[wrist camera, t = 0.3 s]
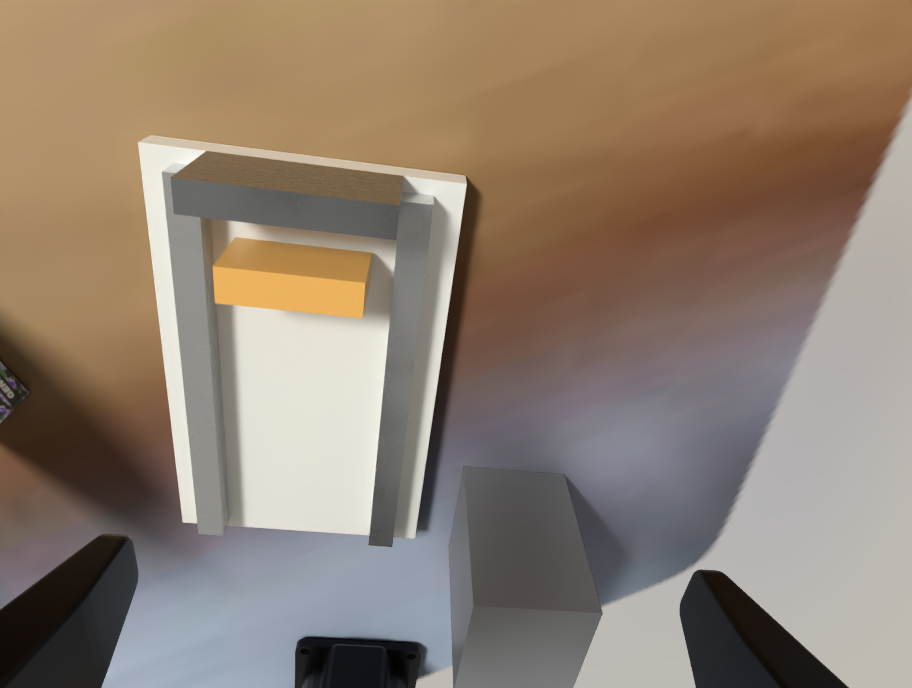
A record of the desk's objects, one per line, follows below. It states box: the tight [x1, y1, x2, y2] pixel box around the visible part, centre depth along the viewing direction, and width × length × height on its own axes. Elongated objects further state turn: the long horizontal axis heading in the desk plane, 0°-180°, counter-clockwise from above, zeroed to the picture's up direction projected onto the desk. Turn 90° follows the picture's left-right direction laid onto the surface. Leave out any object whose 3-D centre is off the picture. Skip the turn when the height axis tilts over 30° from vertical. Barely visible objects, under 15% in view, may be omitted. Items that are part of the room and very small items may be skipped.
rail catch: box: [213, 237, 372, 319], centre depth 19 cm, size 1×4×2 cm, turn 82°
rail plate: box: [138, 135, 467, 547], centre depth 22 cm, size 16×10×4 cm, turn 172°
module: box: [449, 466, 602, 688], centre depth 25 cm, size 5×4×7 cm
